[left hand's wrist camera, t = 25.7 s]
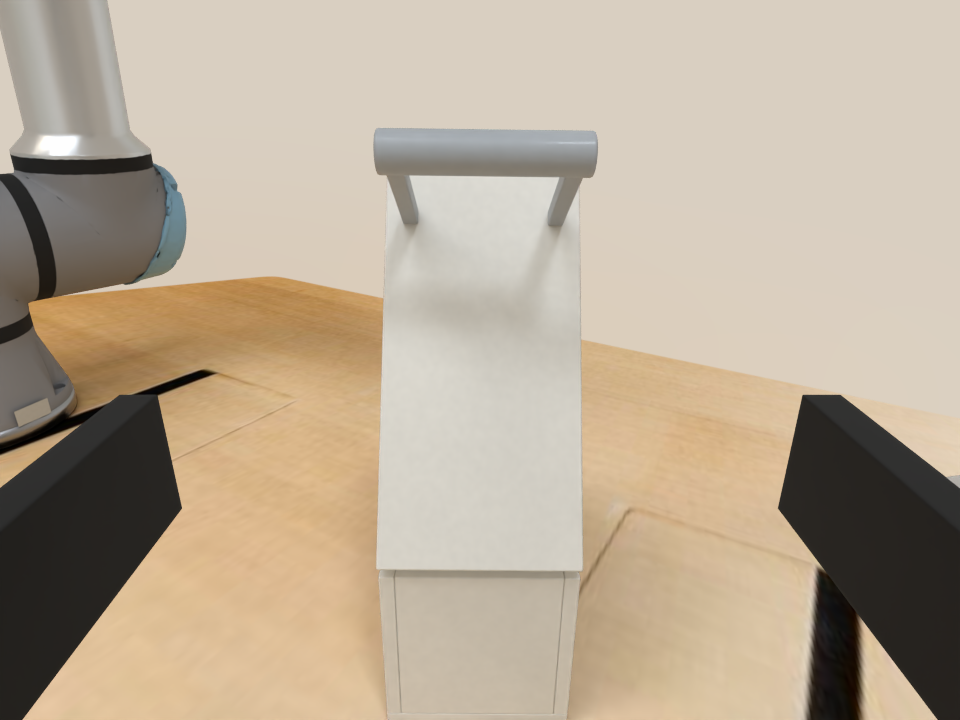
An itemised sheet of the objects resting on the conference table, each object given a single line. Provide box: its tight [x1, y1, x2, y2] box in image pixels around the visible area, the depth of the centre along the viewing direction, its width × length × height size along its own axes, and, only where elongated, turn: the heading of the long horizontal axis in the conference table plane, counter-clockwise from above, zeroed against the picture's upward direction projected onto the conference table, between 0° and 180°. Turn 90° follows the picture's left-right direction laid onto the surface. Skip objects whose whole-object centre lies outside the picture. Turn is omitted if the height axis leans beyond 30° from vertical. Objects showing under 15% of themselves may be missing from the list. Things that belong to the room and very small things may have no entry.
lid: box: [374, 128, 598, 572], centre depth 24 cm, size 18×9×8 cm
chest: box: [378, 570, 580, 720], centre depth 36 cm, size 17×9×9 cm, turn 0°
